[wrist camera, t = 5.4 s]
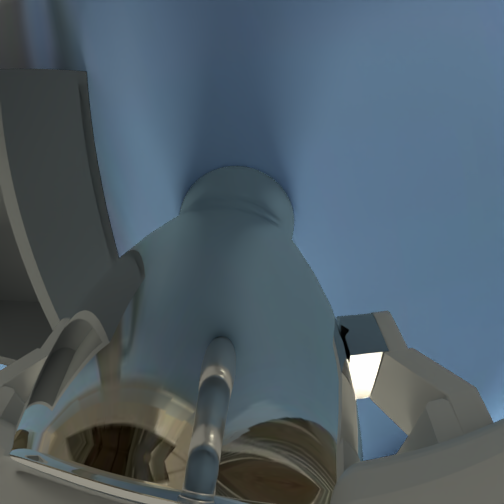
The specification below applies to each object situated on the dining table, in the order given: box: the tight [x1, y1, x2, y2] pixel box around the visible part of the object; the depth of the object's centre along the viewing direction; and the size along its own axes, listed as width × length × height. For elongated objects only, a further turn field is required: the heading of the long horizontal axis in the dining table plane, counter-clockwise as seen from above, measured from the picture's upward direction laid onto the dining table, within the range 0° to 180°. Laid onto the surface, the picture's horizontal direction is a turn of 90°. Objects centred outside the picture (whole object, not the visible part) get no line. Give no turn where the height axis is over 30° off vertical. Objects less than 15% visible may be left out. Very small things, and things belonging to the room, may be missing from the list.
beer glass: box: [0, 166, 363, 504], centre depth 10 cm, size 7×7×15 cm
